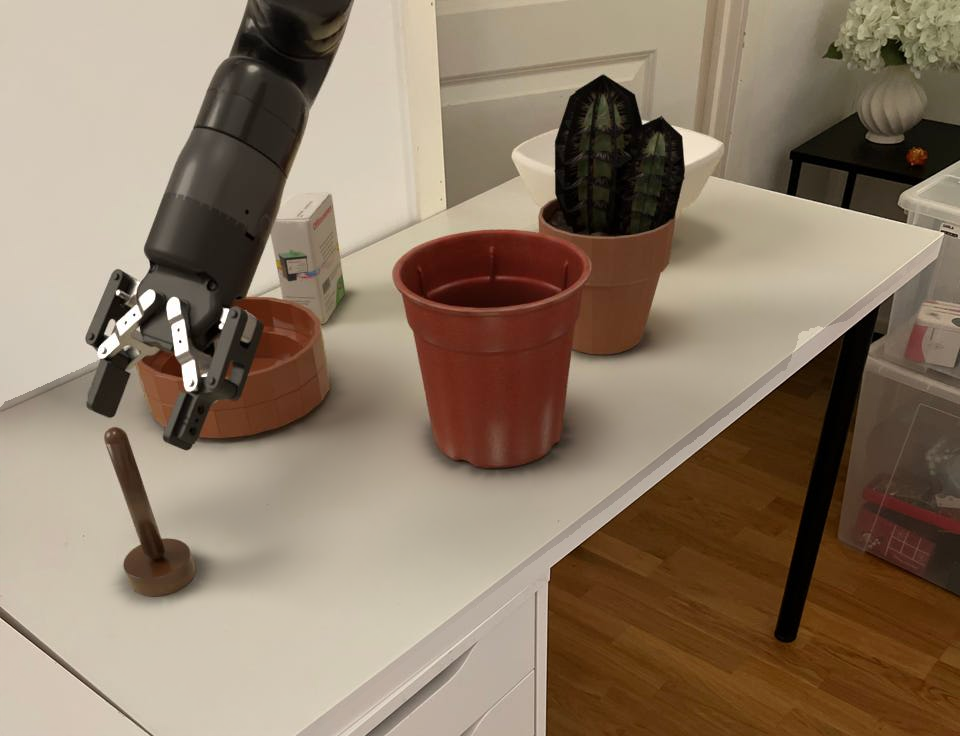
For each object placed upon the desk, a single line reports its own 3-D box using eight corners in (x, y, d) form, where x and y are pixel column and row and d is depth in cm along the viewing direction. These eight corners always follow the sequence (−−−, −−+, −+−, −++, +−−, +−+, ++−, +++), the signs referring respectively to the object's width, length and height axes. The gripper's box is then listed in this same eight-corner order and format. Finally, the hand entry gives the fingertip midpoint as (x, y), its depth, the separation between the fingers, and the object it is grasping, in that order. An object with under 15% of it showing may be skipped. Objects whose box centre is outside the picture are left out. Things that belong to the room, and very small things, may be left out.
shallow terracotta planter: (117, 400, 99) (97, 340, 95) (263, 338, 108) (252, 281, 104) (214, 465, 89) (197, 401, 85) (366, 392, 98) (358, 331, 94)
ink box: (307, 292, 117) (290, 190, 109) (347, 293, 116) (332, 191, 108) (285, 323, 111) (265, 217, 103) (326, 325, 110) (309, 218, 102)
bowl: (606, 201, 136) (610, 109, 128) (736, 240, 123) (749, 142, 115) (490, 246, 125) (487, 150, 117) (620, 294, 113) (626, 190, 105)
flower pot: (530, 504, 83) (529, 325, 72) (375, 455, 89) (352, 285, 78) (614, 416, 93) (624, 247, 82) (469, 378, 99) (460, 218, 88)
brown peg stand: (117, 576, 78) (61, 430, 69) (174, 547, 80) (127, 402, 71) (150, 605, 75) (96, 456, 66) (208, 574, 77) (163, 427, 68)
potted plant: (567, 376, 99) (573, 105, 82) (520, 322, 108) (516, 70, 91) (687, 351, 102) (717, 85, 85) (631, 301, 111) (647, 53, 94)
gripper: (112, 173, 69) (33, 387, 70) (253, 207, 62) (163, 442, 64) (187, 225, 76) (113, 419, 77) (321, 260, 69) (239, 472, 70)
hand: (136, 429), depth 70 cm, fingers open, 8 cm apart
